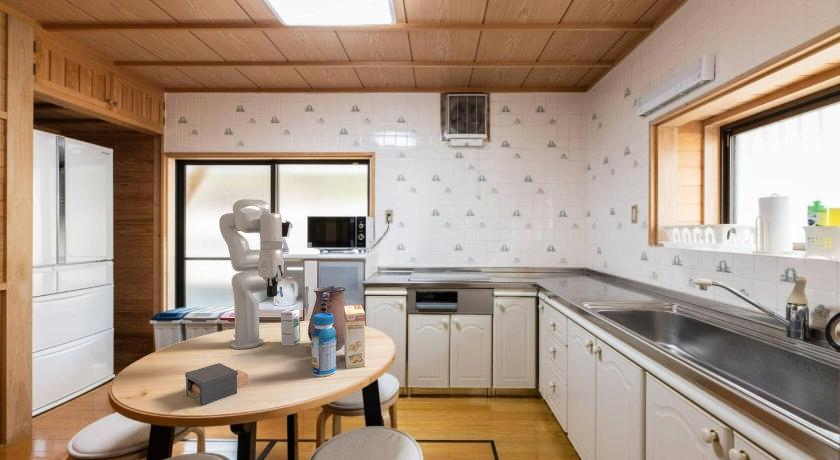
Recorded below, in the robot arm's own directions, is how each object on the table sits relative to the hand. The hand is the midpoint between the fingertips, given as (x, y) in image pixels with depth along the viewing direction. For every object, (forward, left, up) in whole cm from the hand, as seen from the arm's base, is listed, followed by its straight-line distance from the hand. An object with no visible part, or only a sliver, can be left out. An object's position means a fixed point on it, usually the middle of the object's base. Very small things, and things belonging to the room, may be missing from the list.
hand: (272, 296), depth 137 cm
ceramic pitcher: (+4, +23, -25) cm, 34 cm away
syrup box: (-16, +18, -25) cm, 35 cm away
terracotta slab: (+7, -22, -26) cm, 34 cm away
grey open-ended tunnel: (+8, -24, -25) cm, 36 cm away
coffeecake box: (+22, +20, -25) cm, 39 cm away
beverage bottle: (+22, +6, -25) cm, 34 cm away
